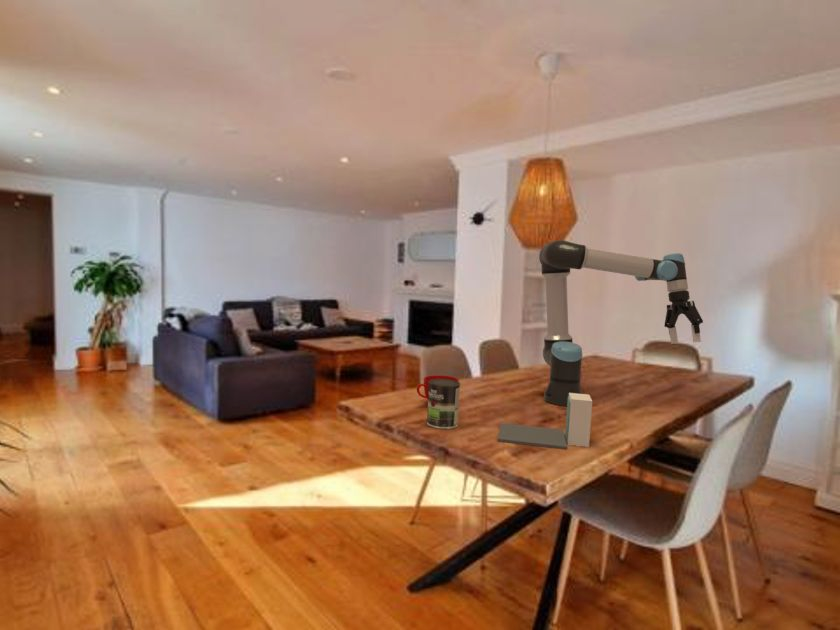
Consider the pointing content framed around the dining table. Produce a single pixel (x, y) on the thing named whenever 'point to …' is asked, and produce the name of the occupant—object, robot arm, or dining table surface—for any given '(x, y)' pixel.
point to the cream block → (578, 419)
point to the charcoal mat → (532, 436)
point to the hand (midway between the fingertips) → (685, 342)
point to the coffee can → (443, 403)
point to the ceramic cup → (426, 383)
